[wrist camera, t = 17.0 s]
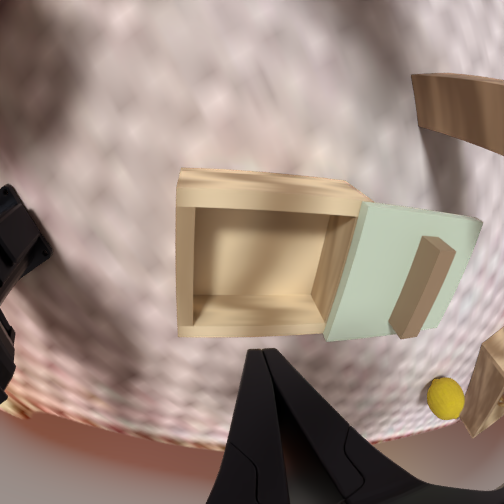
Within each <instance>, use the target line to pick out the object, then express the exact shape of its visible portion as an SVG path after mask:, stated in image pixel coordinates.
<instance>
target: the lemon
mask: <svg viewBox="0 0 504 504" xmlns="http://www.w3.org/2000/svg"><path fill="white" fill-rule="evenodd" d="M427 402H428V405H429V408H430V409H431V411H432V412H433V413H434V414H435V415H436V416H437V417H438V418H440V419H442V420H450V419H457V418H458V417H459V415H460V413H461V411H462V409H463V407H464V403H465V398H464V394H463V391H462V389H461V387H460V386H459V384H458V383H457V382H456V381H454V380H453V379H451V378H445V377H444V378H440V379H433V381H432V384H431V386H430V388H429V390H428V393H427Z"/></svg>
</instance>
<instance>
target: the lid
mask: <svg viewBox="0 0 504 504" xmlns="http://www.w3.org/2000/svg"><path fill="white" fill-rule="evenodd" d="M482 225H483V222H482V221H481V220H479V219H478V218H475V217H469V216H463V215H457V214H451V213H445V212H439V211H432V210H425V209H419V208H412V207H404V206H397V205H389V204H381V203H373V202H364V201H362V204H361V208H360V212H359V216H358V220H357V224H356V228H355V231H354V235H353V239H352V243H351V246H350V250H349V253H348V257H347V260H346V264H345V267H344V271H343V274H342V277H341V280H340V284H339V287H338V290H337V293H336V297H335V300H334V303H333V306H332V309H331V312H330V315H329V318H328V321H327V324H326V327H325V330H324V333H323V336H324V338H325V340H326V342H331V341H342V340H352V339H361V338H370V337H378V336H386V335H393V334H397V335H398V336H399V338H400V339H406V338H412V337H417V336H418V334H419V332H420V330H426V329H432V328H437V326H438V324H439V323H440V321H441V319H442V317H443V315H444V313H445V311H446V309H447V307H448V305H449V303H450V301H451V299H452V297H453V295H454V293H455V291H456V289H457V287H458V284H459V282H460V280H461V278H462V276H463V273H464V271H465V269H466V266H467V264H468V262H469V259H470V257H471V254H472V252H473V249H474V247H475V244H476V241H477V239H478V236H479V233H480V231H481V228H482Z"/></svg>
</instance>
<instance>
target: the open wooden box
mask: <svg viewBox="0 0 504 504" xmlns="http://www.w3.org/2000/svg"><path fill="white" fill-rule="evenodd" d="M362 201H364V202H373V203H374V201H372V200H371V199H370V198H368V197H367V196H365V195H364V194H363V193H361V192H360V191H359V190H357V189H356V188H354V187H353V186H352V185H350V184H349V183H347V182H346V181H343V180H335V179H327V178H318V177H309V176H300V175H289V174H279V173H267V172H254V171H240V170H223V169H203V168H181V171H180V175H179V179H178V183H177V187H176V241H175V246H176V302H177V326H178V337H263V336H287V335H305V334H320V333H324V330H325V327H326V324H327V321H328V318H329V315H330V312H331V309H332V306H333V303H334V300H335V297H336V293H337V290H338V287H339V284H340V280H341V277H342V274H343V271H344V267H345V264H346V260H347V257H348V253H349V250H350V246H351V243H352V239H353V235H354V231H355V228H356V224H357V220H358V216H359V212H360V208H361V204H362Z"/></svg>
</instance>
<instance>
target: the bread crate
mask: <svg viewBox="0 0 504 504" xmlns="http://www.w3.org/2000/svg"><path fill="white" fill-rule="evenodd" d="M503 392H504V327H503V328H501V329H500V330H499V331H498V332H496V333H495V334H494V335H493V336H491V337H490V338H489V339H487V340H486V341H485V342H483V343H482V345H481V348H480V352H479V355H478V359H477V362H476V365H475V368H474V372H473V375H472V378H471V381H470V384H469V386H468V389H467V392H466V395H465V397H464V398H465V403H464V407H463V409H462V411H461V413H460V415H459V417H460V419H461V420H462V422H463V423H464V425H465V427H466V428H467V430H468V432H469V434H470V435H471V437H472V438H474V437H475V436H477V435H478V434H480V433H481V432H482V431H483V430H485V429H486V428H488V427H489V426H490V425H492V424H493V423H494V422H495V421H497V420H498V419H499V418H500V417H502V416H503V415H504V407H502V406H499V405H497V403H498V401H499V399H500V397H501V396H502V394H503Z"/></svg>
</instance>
